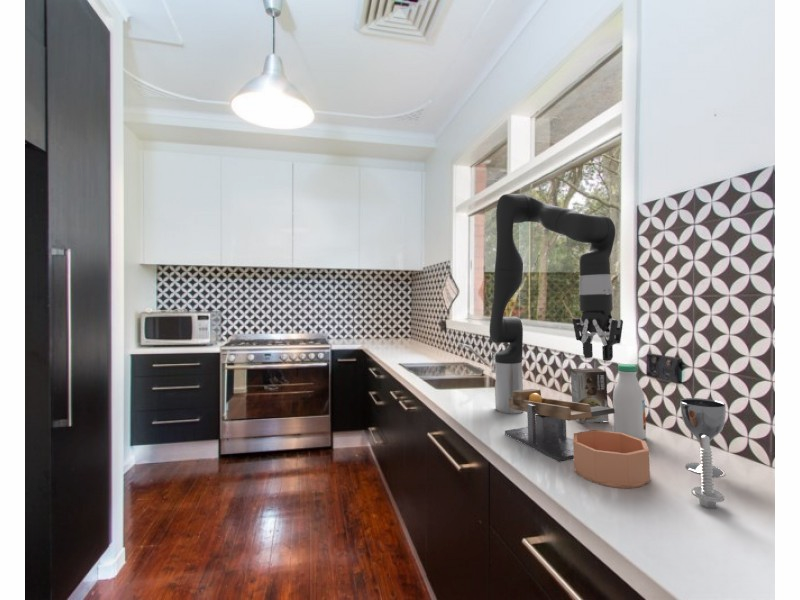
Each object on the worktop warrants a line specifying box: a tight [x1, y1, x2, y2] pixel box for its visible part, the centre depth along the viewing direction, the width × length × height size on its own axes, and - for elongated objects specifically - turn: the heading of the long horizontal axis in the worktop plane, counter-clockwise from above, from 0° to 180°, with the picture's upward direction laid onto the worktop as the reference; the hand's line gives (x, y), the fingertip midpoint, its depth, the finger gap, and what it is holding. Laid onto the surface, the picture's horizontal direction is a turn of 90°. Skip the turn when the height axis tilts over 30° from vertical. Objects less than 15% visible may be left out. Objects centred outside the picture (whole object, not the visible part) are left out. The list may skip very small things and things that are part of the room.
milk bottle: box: [612, 363, 647, 441], centre depth 108 cm, size 8×8×20 cm
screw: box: [690, 435, 726, 509], centre depth 72 cm, size 13×5×5 cm
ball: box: [529, 393, 543, 403], centre depth 109 cm, size 4×4×4 cm
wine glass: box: [679, 397, 727, 478], centre depth 86 cm, size 8×8×15 cm
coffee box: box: [570, 367, 610, 424], centre depth 124 cm, size 9×6×16 cm
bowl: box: [572, 429, 651, 489], centre depth 86 cm, size 14×14×7 cm
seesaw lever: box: [509, 388, 615, 421], centre depth 106 cm, size 24×15×5 cm, turn 19°
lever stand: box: [504, 399, 574, 463], centre depth 105 cm, size 22×12×11 cm, turn 20°
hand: (597, 358), depth 99 cm, fingers open, 5 cm apart
